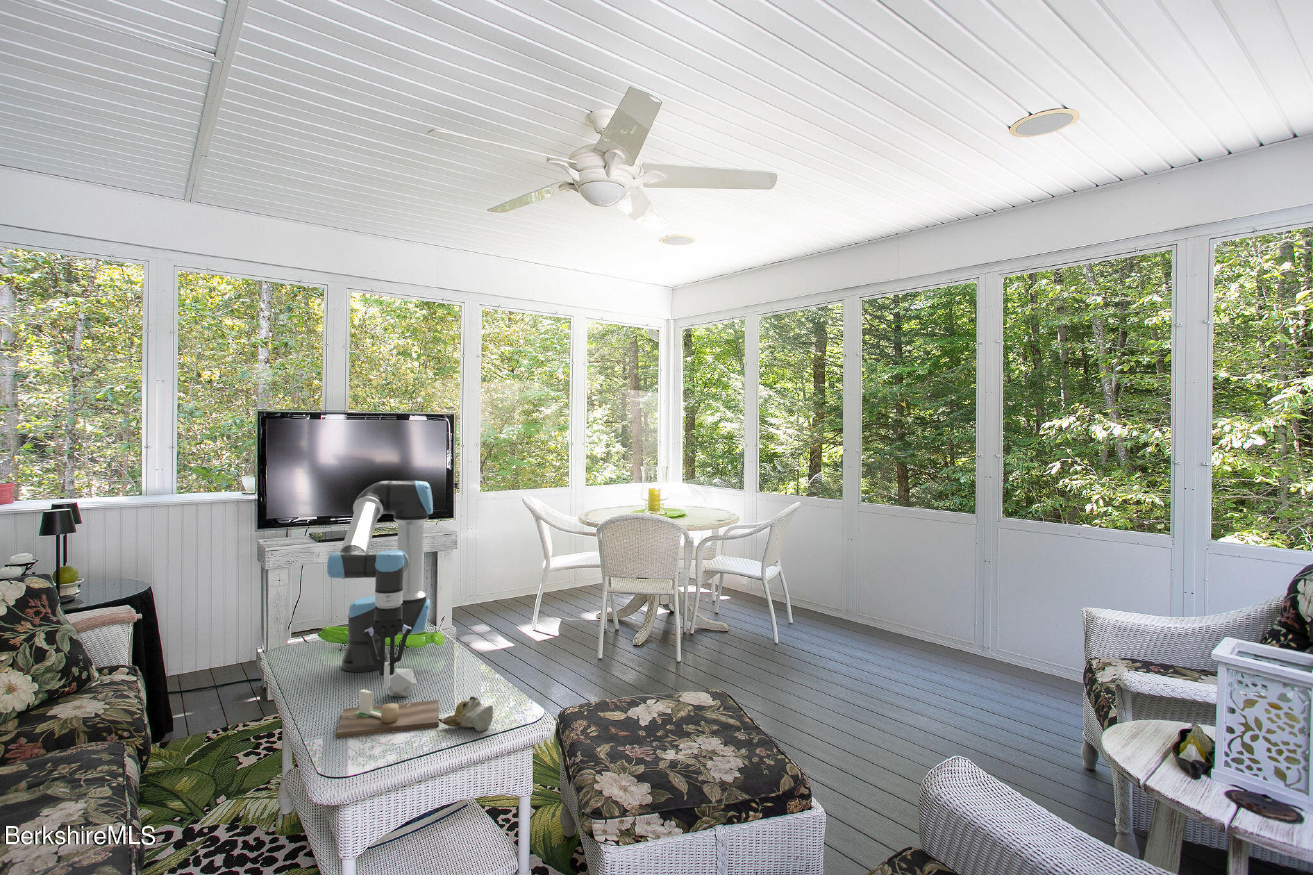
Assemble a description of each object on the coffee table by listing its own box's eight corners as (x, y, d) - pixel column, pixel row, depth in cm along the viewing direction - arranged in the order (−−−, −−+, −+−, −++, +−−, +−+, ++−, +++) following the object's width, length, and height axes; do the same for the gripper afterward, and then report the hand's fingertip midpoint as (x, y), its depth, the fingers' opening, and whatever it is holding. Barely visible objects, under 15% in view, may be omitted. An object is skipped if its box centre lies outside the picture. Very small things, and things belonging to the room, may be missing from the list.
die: (397, 704, 200) (418, 676, 203) (375, 688, 202) (396, 660, 205) (406, 704, 208) (426, 676, 211) (385, 688, 210) (405, 661, 213)
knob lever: (354, 713, 187) (354, 692, 187) (367, 708, 191) (367, 687, 191) (389, 724, 181) (389, 702, 181) (401, 718, 185) (402, 696, 185)
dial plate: (343, 713, 191) (344, 708, 191) (438, 704, 200) (438, 699, 200) (336, 738, 176) (336, 732, 176) (438, 726, 184) (438, 721, 184)
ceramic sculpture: (479, 706, 178) (436, 699, 184) (479, 739, 177) (436, 730, 184) (503, 693, 187) (462, 687, 194) (504, 724, 187) (462, 717, 193)
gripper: (362, 610, 186) (360, 693, 186) (412, 607, 190) (410, 688, 190) (365, 602, 193) (363, 683, 193) (413, 600, 197) (411, 679, 197)
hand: (386, 685), depth 192 cm, fingers closed
